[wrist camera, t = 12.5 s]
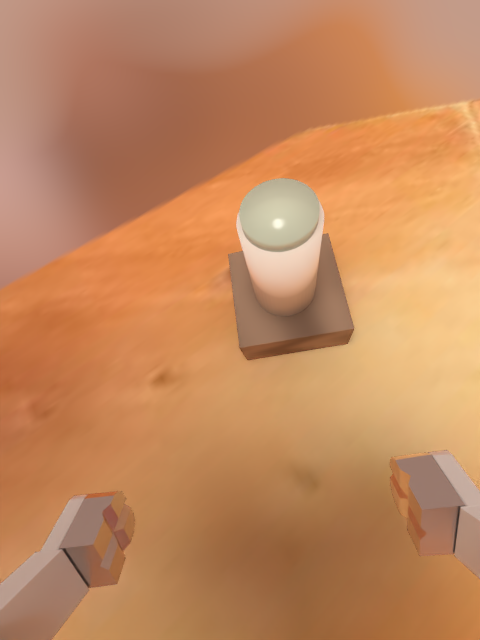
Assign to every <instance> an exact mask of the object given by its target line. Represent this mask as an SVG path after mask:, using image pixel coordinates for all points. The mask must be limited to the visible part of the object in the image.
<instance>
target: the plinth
mask: <svg viewBox="0 0 480 640" xmlns="http://www.w3.org/2000/svg"><path fill="white" fill-rule="evenodd" d="M228 256H229V265H230V273H231V281H232V289H233V297H234V306H235V314H236V322H237V330H238V338H239V346H240V349H241V351H242V352H243V354H244V355H245V357H246V358H247V360H251V359H257V358H263V357H269V356H275V355H282V354H288V353H294V352H300V351H306V350H312V349H318V348H324V347H330V346H337V345H343V344H348V342H349V339H350V337H351V335H352V333H353V330H354V326H353V322H352V318H351V315H350V311H349V308H348V304H347V300H346V297H345V293H344V289H343V286H342V282H341V278H340V275H339V271H338V268H337V264H336V260H335V257H334V253H333V249H332V246H331V242H330V238H329V235H328V233H327V234H322V241H321V248H320V256H319V264H318V272H317V280H316V288H315V294H314V297H313V300H312V302H311V303H310V304H309V306H308V307H307V308H306V309H304V310H303V311H302V312H300V313H298V314H295V315H292V316H277V315H273V314H271V313H269V312H267V311H266V310H264V309H263V308H262V307H261V306H260V304H259V303H258V301H257V299H256V296H255V292H254V289H253V285H252V282H251V278H250V274H249V271H248V267H247V264H246V260H245V257H244V253H243V251H241V252H236V253H231V254H228Z"/></svg>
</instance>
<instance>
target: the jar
mask: <svg viewBox="0 0 480 640" xmlns="http://www.w3.org/2000/svg"><path fill="white" fill-rule="evenodd" d="M323 225H324V212H323V208H322V206H321V204H320V202H319V200H318V198H317V196H316V194H315V193H314V191H313V190H312V189H311V188H310V187H309V186H307V185H306V184H304V183H302V182H300V181H297V180H293V179H286V178H281V179H273V180H269V181H266V182H263V183H261V184H259V185H258V186H256V187H254V188H253V189H252V190H251V191H250V192H249V193H248V194H247V195H246V196H245V198H244V199H243V201H242V203H241V206H240V211H239V213H238V216H237V231H238V235H239V239H240V242H241V246H242V249H243V253H244V257H245V260H246V264H247V267H248V271H249V274H250V278H251V282H252V285H253V289H254V292H255V296H256V299H257V301H258V303H259V304H260V306H261V307H262V308H263V309H264V310H266V311H267V312H269V313H271V314H273V315H277V316H292V315H295V314H298V313H300V312H302V311H303V310H304V309H306V308H307V307H308V306H309V304H310V303H311V302H312V300H313V297H314V294H315V288H316V280H317V272H318V264H319V256H320V248H321V241H322V233H323Z"/></svg>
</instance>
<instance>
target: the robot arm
mask: <svg viewBox="0 0 480 640" xmlns="http://www.w3.org/2000/svg"><path fill="white" fill-rule="evenodd" d="M390 467H391V470H392V472H393V475H392V476H391V477H390V486H391V490H392V495H393V498H394V501H395V504H396V506H397V508H398V511H399V513H400V514H401V515H402V516H404V517H405V518H406V519H407V530H408V533H409V535H410V537H411V539H412V541H413V543H414V545H415V547H416V550H417V552H418V554H419V556H429V555H445V554H454V556H455V557H456V558H457V559H458V560H459V561H461V562H462V563H463V564H464V565H465V566H466V567H467V568H468V569H469V570H470V571H472V572H473V573H474V574H475V575H476V576H477V577H478V578H479V579H480V491H479V489H478V488H477V487H476V485H475V484H474V483H473V481H472V480H471V479H470V477H469V476H468V475H467V473H466V472H465V471H464V470H463V468H462V467H461V466H460V464H459V463H458V462H457V460H456V459H455V458H454V456H453V455H452V454H451V453H450V452H449V451H447V450H443V451H435V452H428V453H426V452H424V453H417V454H409V455H402V456H395V457H391V459H390ZM125 500H126V497H125V495H124V493H123V492H122V491H116V492H105V493H95V494H85V495H76V496H73V497H72V498H71V499H70V500H69V501H68V503H67V505H66V506H65V508H64V510H63V512H62V513H61V515H60V517H59V519H58V521H57V522H56V524H55V526H54V528H53V529H52V531H51V533H50V535H49V537H48V538H47V540H46V542H45V544H44V545H43V547H42V549H41V551H40V552H35V553H34V554H33V555H32V556H31V557H29V558H28V559H27V560H26V561H25V562H24V563H23V564H22V565H21V566H20V567H18V568H17V569H16V570H15V571H14V572H13V573H12V574H11V575H10V576H9V577H7V578H6V579H5V580H4V581H3V582H2V583H1V584H0V640H52V639H53V637H54V636H55V635H56V633H57V632H58V631H59V629H60V628H61V627H62V625H63V624H64V623H65V621H66V620H67V619H68V617H69V616H70V615H71V613H72V612H73V611H74V609H75V608H76V607H77V605H78V604H79V603H80V601H81V600H82V599H83V597H84V596H85V595H86V594H87V592H88V591H89V588H91V587H99V586H107V585H115V584H117V583H118V580H119V577H120V574H121V571H122V568H123V565H124V562H125V559H126V558H125V554H124V549H125V548H126V547H127V546H128V545H129V544H130V543H131V540H132V537H133V533H134V526H135V519H134V513H133V511H132V509H131V508H130V507H129V506H127V505H125V504H124V503H125Z"/></svg>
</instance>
